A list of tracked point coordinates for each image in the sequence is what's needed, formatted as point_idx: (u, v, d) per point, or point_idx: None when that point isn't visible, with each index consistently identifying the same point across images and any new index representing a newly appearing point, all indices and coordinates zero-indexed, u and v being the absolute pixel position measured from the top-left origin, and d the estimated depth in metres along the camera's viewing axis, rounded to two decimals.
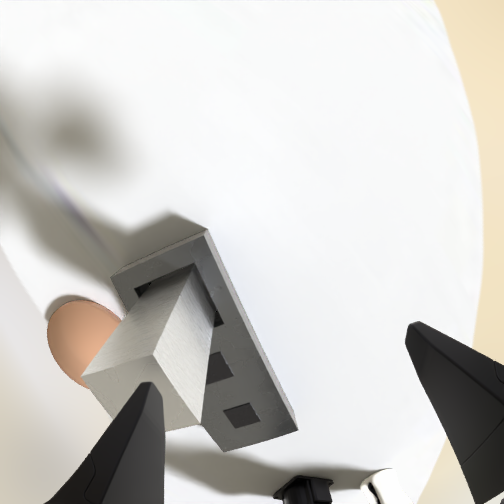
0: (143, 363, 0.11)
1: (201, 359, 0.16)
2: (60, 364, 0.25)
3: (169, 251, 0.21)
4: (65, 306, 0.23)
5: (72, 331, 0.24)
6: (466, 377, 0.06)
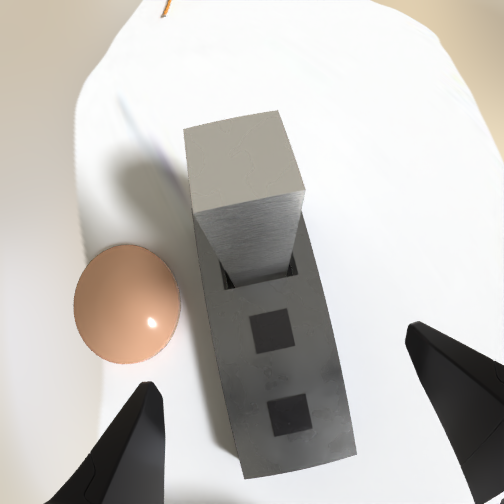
0: (265, 116, 0.11)
1: None
2: (77, 314, 0.23)
3: None
4: (120, 246, 0.24)
5: (113, 275, 0.23)
6: (466, 377, 0.06)
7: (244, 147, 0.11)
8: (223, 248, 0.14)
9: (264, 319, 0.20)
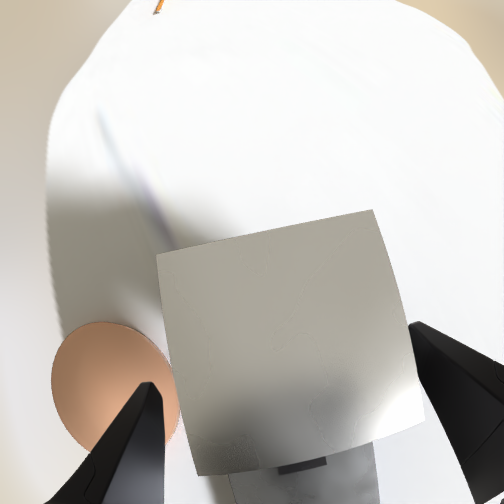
0: (348, 226, 0.05)
1: None
2: (56, 399, 0.16)
3: None
4: (99, 323, 0.18)
5: (94, 360, 0.17)
6: (466, 377, 0.06)
7: (305, 322, 0.05)
8: None
9: None
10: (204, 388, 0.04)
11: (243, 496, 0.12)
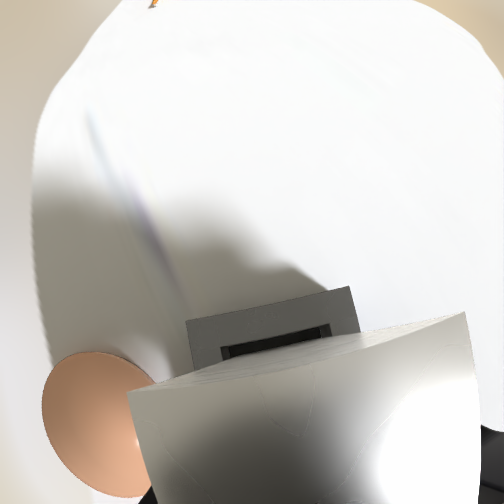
0: (433, 346, 0.03)
1: None
2: (48, 430, 0.14)
3: (295, 300, 0.14)
4: (89, 353, 0.16)
5: (85, 392, 0.15)
6: None
7: (358, 488, 0.02)
8: None
9: None
10: None
11: None
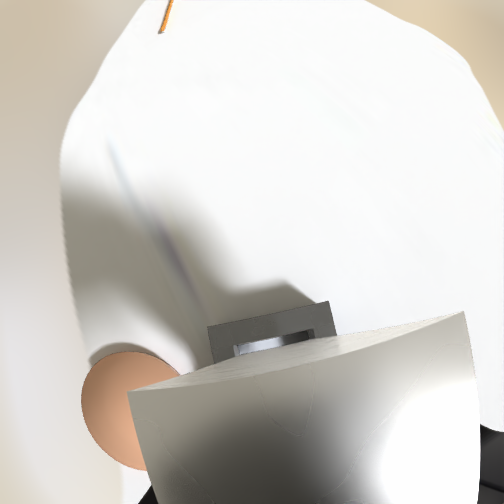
0: (432, 345, 0.03)
1: None
2: (87, 418, 0.19)
3: (288, 311, 0.19)
4: (125, 353, 0.21)
5: (122, 384, 0.20)
6: None
7: (357, 488, 0.02)
8: None
9: None
10: None
11: None
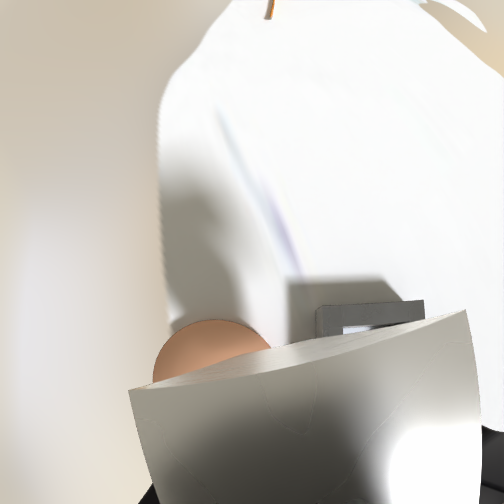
0: (434, 343, 0.03)
1: None
2: None
3: (392, 303, 0.20)
4: (221, 321, 0.22)
5: (210, 353, 0.21)
6: None
7: (360, 486, 0.02)
8: None
9: None
10: None
11: None
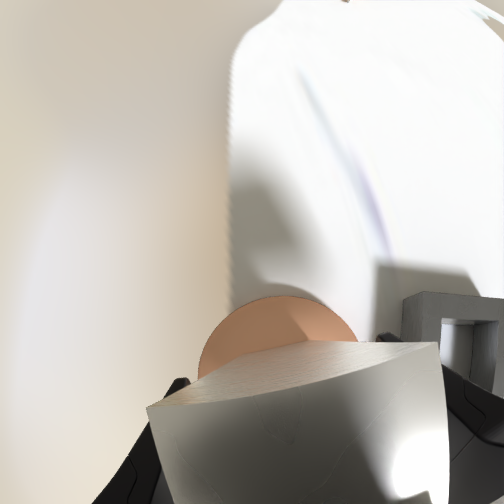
0: (406, 372, 0.03)
1: None
2: (203, 372, 0.17)
3: (486, 298, 0.15)
4: (300, 299, 0.18)
5: (282, 338, 0.17)
6: None
7: (339, 488, 0.03)
8: None
9: None
10: None
11: None
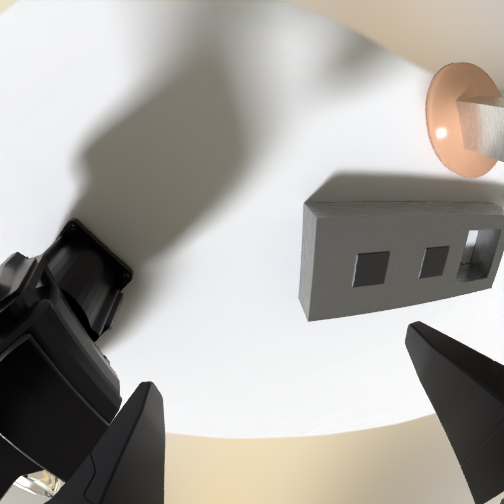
0: None
1: None
2: (472, 67, 0.15)
3: None
4: None
5: None
6: (466, 377, 0.06)
7: None
8: None
9: (443, 258, 0.20)
10: None
11: (420, 221, 0.19)
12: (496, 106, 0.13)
